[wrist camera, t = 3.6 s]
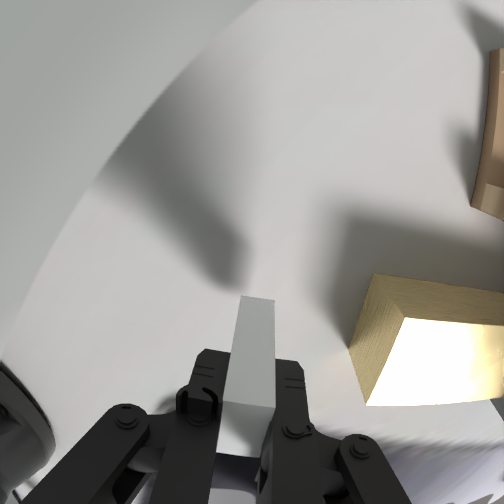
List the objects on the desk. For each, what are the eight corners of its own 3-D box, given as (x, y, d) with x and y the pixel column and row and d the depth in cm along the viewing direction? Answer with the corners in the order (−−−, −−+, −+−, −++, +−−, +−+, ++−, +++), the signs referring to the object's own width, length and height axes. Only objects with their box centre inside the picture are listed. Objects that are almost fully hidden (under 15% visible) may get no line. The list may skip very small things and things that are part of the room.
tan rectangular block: (347, 347, 18) (366, 405, 14) (371, 271, 17) (405, 318, 12) (503, 353, 18) (535, 391, 14) (529, 295, 17) (569, 328, 12)
